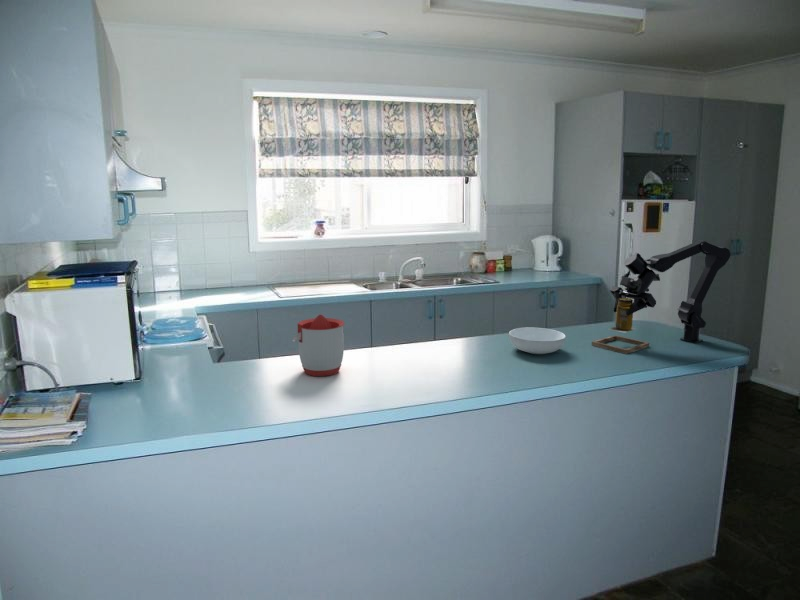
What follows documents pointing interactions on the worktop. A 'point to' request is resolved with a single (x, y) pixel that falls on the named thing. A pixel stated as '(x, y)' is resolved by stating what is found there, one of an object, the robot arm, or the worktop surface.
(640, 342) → the walnut frame
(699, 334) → the robot arm
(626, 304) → the condiment
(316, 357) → the citrus juicer
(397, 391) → the worktop surface
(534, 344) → the serving bowl
